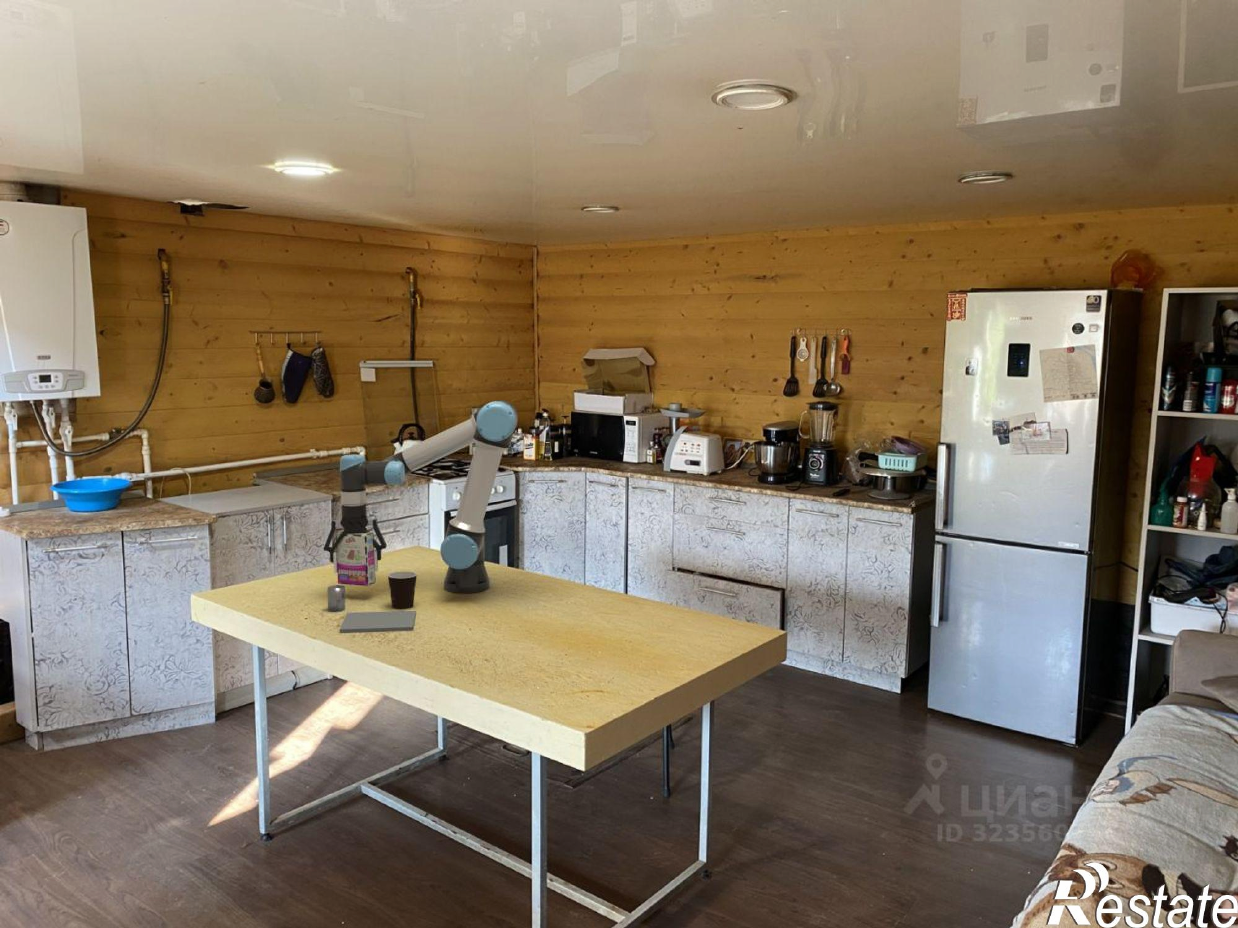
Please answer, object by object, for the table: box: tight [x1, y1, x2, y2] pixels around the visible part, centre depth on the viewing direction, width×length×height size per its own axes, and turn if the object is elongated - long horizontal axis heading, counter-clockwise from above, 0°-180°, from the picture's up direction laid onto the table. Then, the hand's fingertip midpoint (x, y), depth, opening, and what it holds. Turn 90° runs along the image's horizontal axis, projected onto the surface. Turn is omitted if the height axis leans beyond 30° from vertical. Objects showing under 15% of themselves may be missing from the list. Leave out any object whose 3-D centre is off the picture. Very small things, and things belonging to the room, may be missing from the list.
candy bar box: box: [335, 531, 377, 587], centre depth 284 cm, size 11×5×16 cm, turn 73°
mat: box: [339, 610, 417, 634], centre depth 259 cm, size 20×16×1 cm
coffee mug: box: [387, 570, 418, 610], centre depth 277 cm, size 12×9×10 cm
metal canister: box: [327, 584, 346, 613], centre depth 271 cm, size 5×5×7 cm
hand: (356, 571), depth 284 cm, fingers closed on candy bar box, 12 cm apart
